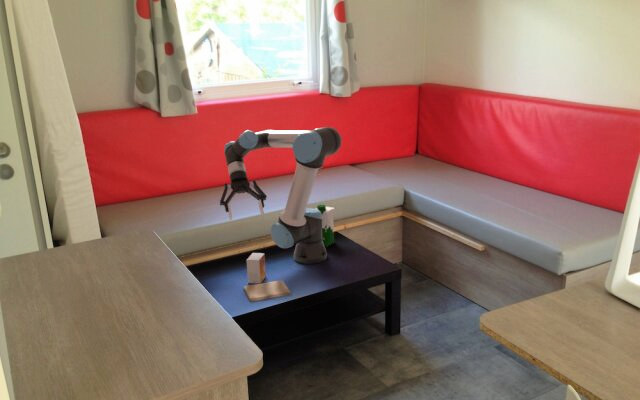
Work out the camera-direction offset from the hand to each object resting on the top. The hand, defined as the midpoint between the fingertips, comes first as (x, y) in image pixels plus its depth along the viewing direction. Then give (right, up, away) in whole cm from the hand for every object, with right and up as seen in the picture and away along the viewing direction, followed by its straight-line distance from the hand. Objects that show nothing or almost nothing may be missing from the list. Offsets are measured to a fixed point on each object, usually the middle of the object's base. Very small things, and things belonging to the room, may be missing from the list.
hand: (246, 216), depth 234 cm
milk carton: (+34, -15, +34) cm, 50 cm away
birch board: (+10, -30, -15) cm, 35 cm away
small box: (+5, -27, -3) cm, 27 cm away
